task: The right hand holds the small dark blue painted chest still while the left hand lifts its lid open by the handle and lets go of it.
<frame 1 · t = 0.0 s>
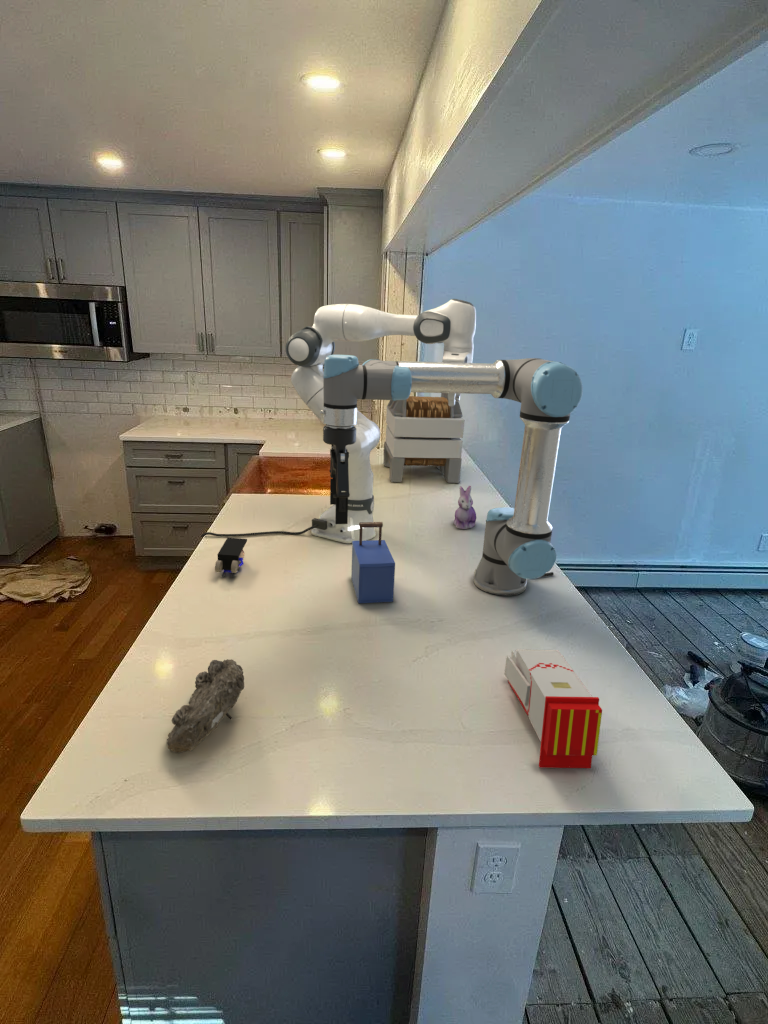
left hand: (454, 403, 174), 48 cm above the counter, tool pointing down, fingers open, 8 cm apart
right hand: (338, 513, 136), 28 cm above the counter, tool pointing down, fingers open, 13 cm apart
toy: (541, 716, 112), on the counter
figurine character: (232, 569, 168), on the counter
transformer: (419, 473, 275), on the counter
lid: (373, 541, 155), point 15 cm above the counter, hinge at 0.0°
fossil: (212, 717, 108), on the counter
chest: (371, 589, 160), on the counter
figurine: (464, 525, 210), on the counter
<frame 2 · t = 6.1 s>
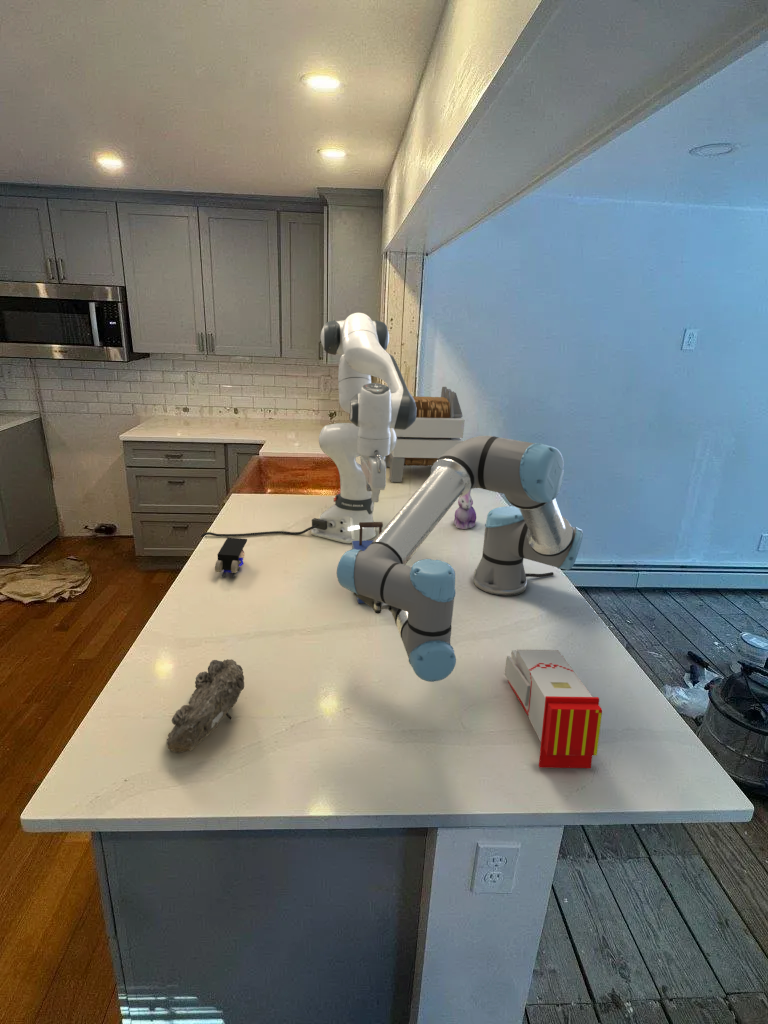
left hand: (372, 496, 155), 26 cm above the counter, tool pointing down, fingers open, 8 cm apart
right hand: (393, 570, 127), 19 cm above the counter, tool horizontal, fingers open, 13 cm apart
nothing on the counter moved.
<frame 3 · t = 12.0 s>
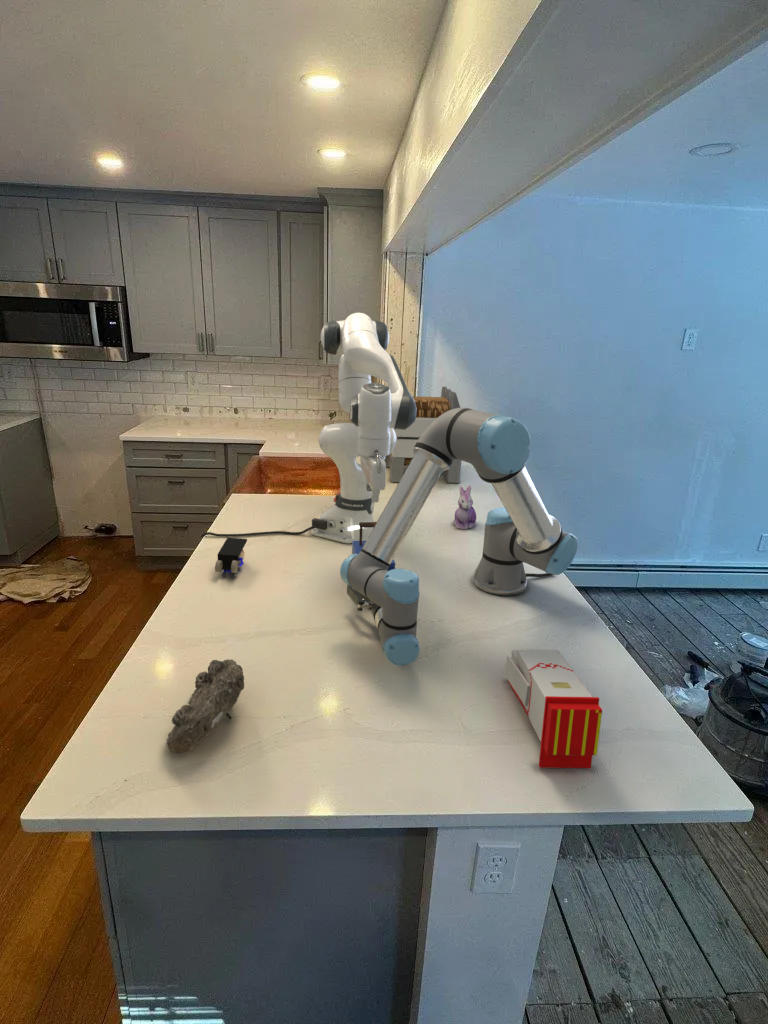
left hand: (372, 496, 155), 26 cm above the counter, tool pointing down, fingers open, 8 cm apart
right hand: (374, 574, 153), 7 cm above the counter, tool horizontal, fingers closed on chest, 9 cm apart
chest: (371, 589, 160), on the counter, touching right hand
everything else where it was.
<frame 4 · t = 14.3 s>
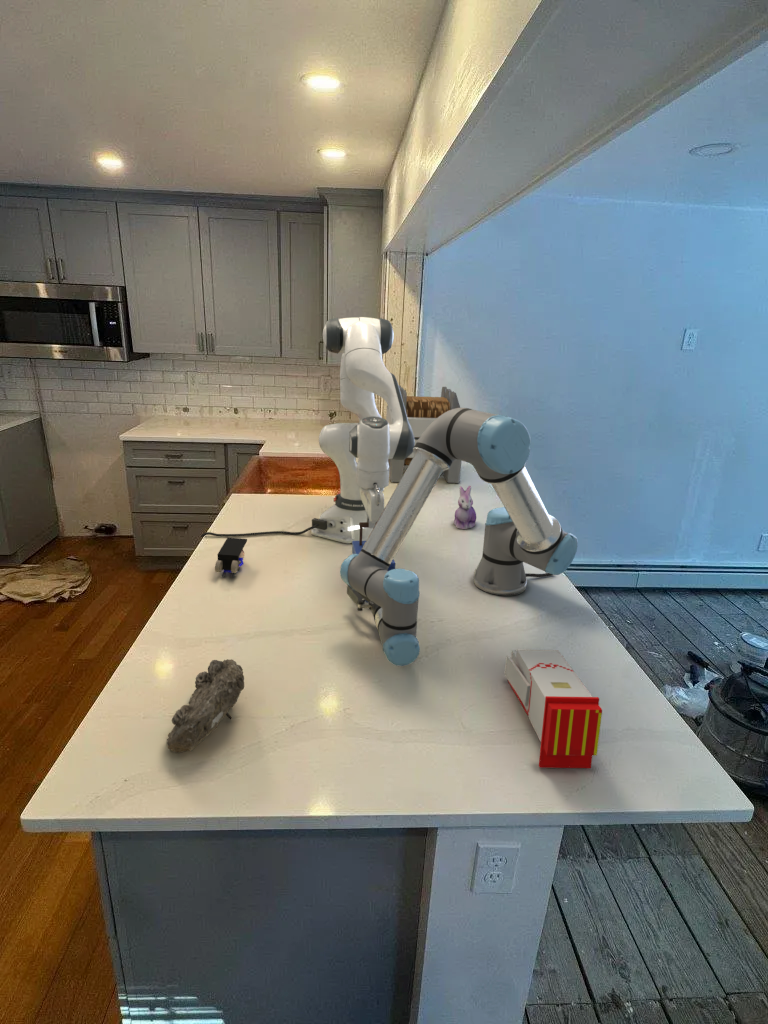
left hand: (370, 525, 158), 17 cm above the counter, tool pointing down, fingers closed on lid, 2 cm apart
right hand: (374, 574, 153), 7 cm above the counter, tool horizontal, fingers closed on chest, 9 cm apart
lid: (373, 541, 155), point 15 cm above the counter, hinge at -0.1°, touching left hand
chest: (371, 589, 160), on the counter, touching right hand
everything else where it was.
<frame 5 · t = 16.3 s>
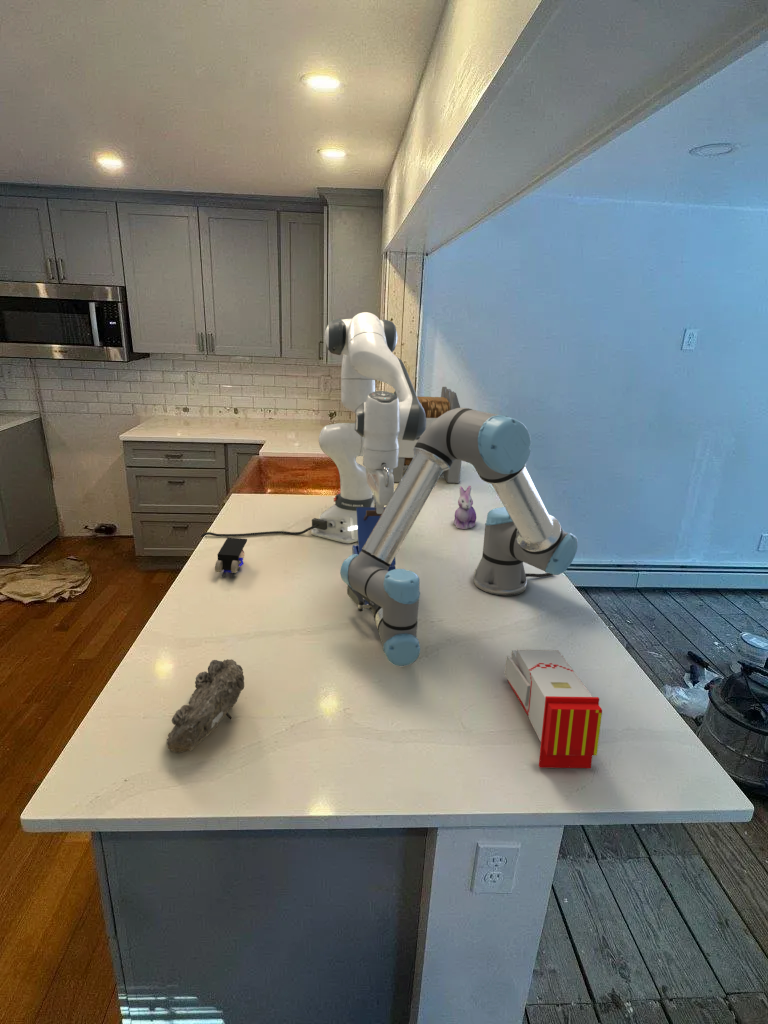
left hand: (378, 511, 146), 26 cm above the counter, tool pointing down, fingers closed on lid
right hand: (374, 574, 153), 7 cm above the counter, tool horizontal, fingers closed on chest, 9 cm apart
lid: (377, 533, 148), point 20 cm above the counter, hinge at 55.1°, touching left hand
chest: (371, 589, 160), on the counter, touching right hand
everything else where it was.
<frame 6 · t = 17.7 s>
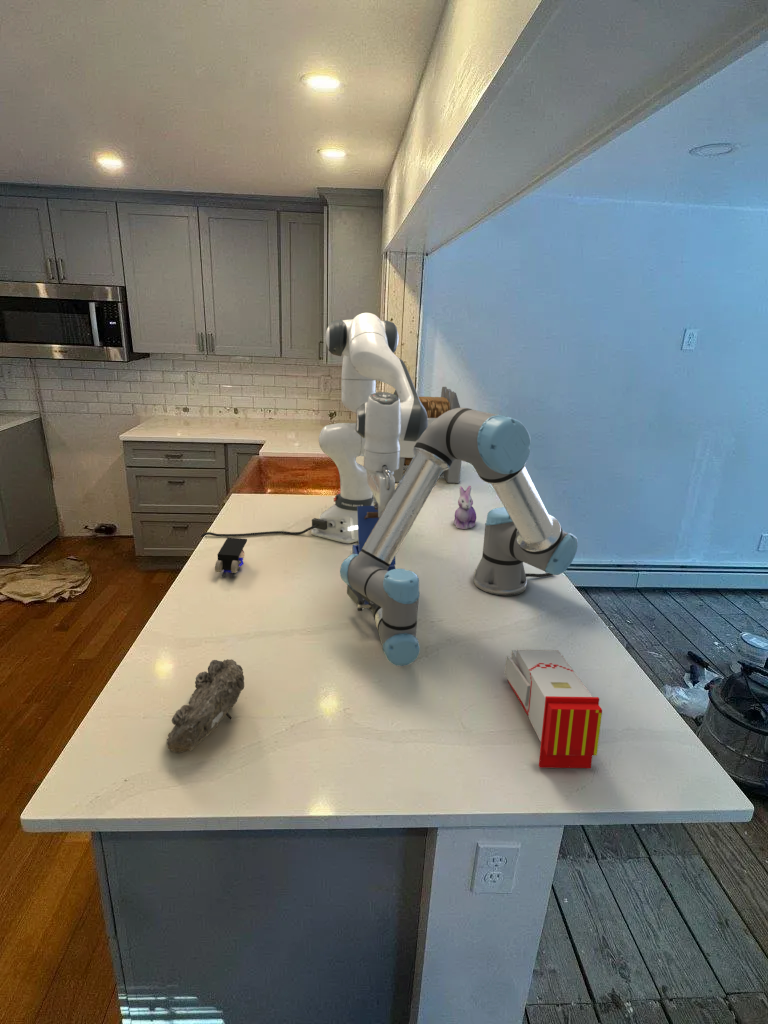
left hand: (379, 513, 145), 26 cm above the counter, tool pointing down, fingers open, 5 cm apart
right hand: (374, 574, 153), 7 cm above the counter, tool horizontal, fingers closed on chest, 9 cm apart
lid: (378, 534, 147), point 20 cm above the counter, hinge at 62.3°
chest: (371, 589, 160), on the counter, touching right hand
everything else where it was.
when the right hand's fingers open (7 cm above the counter, at t = 20.8 s): chest stays where it is, on the counter.
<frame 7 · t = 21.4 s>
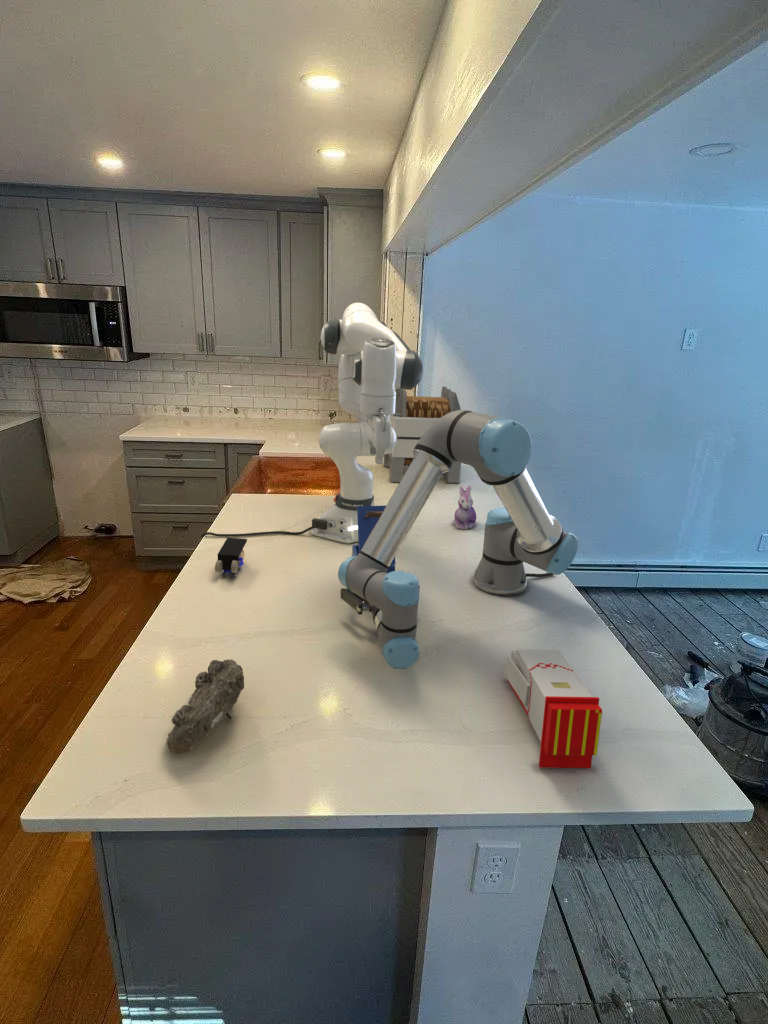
left hand: (375, 458, 148), 38 cm above the counter, tool pointing down, fingers open, 8 cm apart
right hand: (375, 578, 151), 7 cm above the counter, tool horizontal, fingers open, 13 cm apart
lid: (378, 533, 147), point 20 cm above the counter, hinge at 61.1°
chest: (371, 589, 160), on the counter
everything else where it was.
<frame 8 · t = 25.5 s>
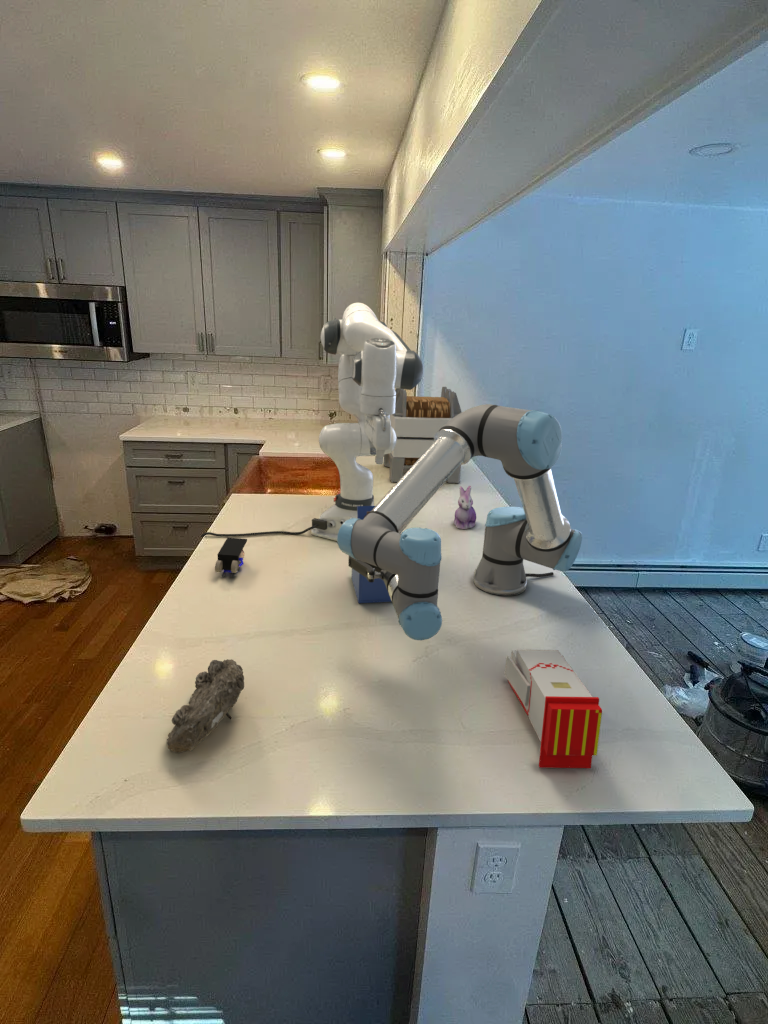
left hand: (375, 458, 148), 38 cm above the counter, tool pointing down, fingers open, 8 cm apart
right hand: (386, 545, 135), 21 cm above the counter, tool horizontal, fingers open, 13 cm apart
nothing on the counter moved.
at the end: lid at +61° (first picture: +0°); the left hand is holding nothing; the right hand is holding nothing; chest tilted 0°; chest never tilted more than 1° during the clip; chest moved 0.1 cm from its start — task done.
